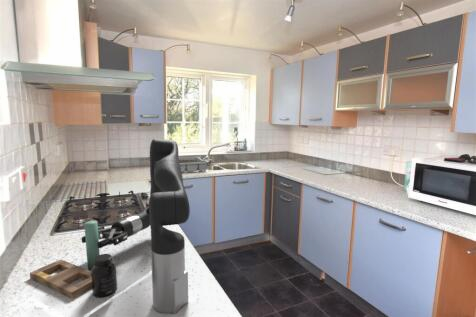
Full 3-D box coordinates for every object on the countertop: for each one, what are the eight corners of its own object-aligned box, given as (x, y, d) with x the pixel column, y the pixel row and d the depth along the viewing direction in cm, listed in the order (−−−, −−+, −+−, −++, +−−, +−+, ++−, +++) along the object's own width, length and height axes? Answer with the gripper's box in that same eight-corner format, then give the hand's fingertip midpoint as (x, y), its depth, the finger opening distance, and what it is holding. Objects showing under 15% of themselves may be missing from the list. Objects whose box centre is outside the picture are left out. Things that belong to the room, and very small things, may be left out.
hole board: (102, 284, 92) (102, 275, 91) (72, 301, 83) (72, 291, 82) (61, 267, 101) (60, 258, 101) (30, 281, 93) (29, 272, 92)
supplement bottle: (89, 293, 87) (86, 256, 85) (112, 284, 91) (110, 249, 90) (97, 304, 82) (94, 265, 80) (121, 294, 87) (119, 257, 85)
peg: (102, 264, 102) (99, 221, 99) (92, 269, 98) (89, 225, 96) (95, 261, 103) (92, 219, 101) (85, 266, 100) (81, 223, 98)
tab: (113, 265, 103) (113, 263, 103) (91, 278, 95) (90, 275, 95) (97, 259, 107) (96, 257, 107) (74, 271, 99) (73, 268, 99)
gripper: (114, 215, 115) (76, 228, 101) (140, 221, 109) (103, 236, 95) (115, 232, 117) (77, 248, 102) (140, 239, 110) (104, 257, 96)
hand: (90, 242), depth 99 cm, fingers open, 8 cm apart
